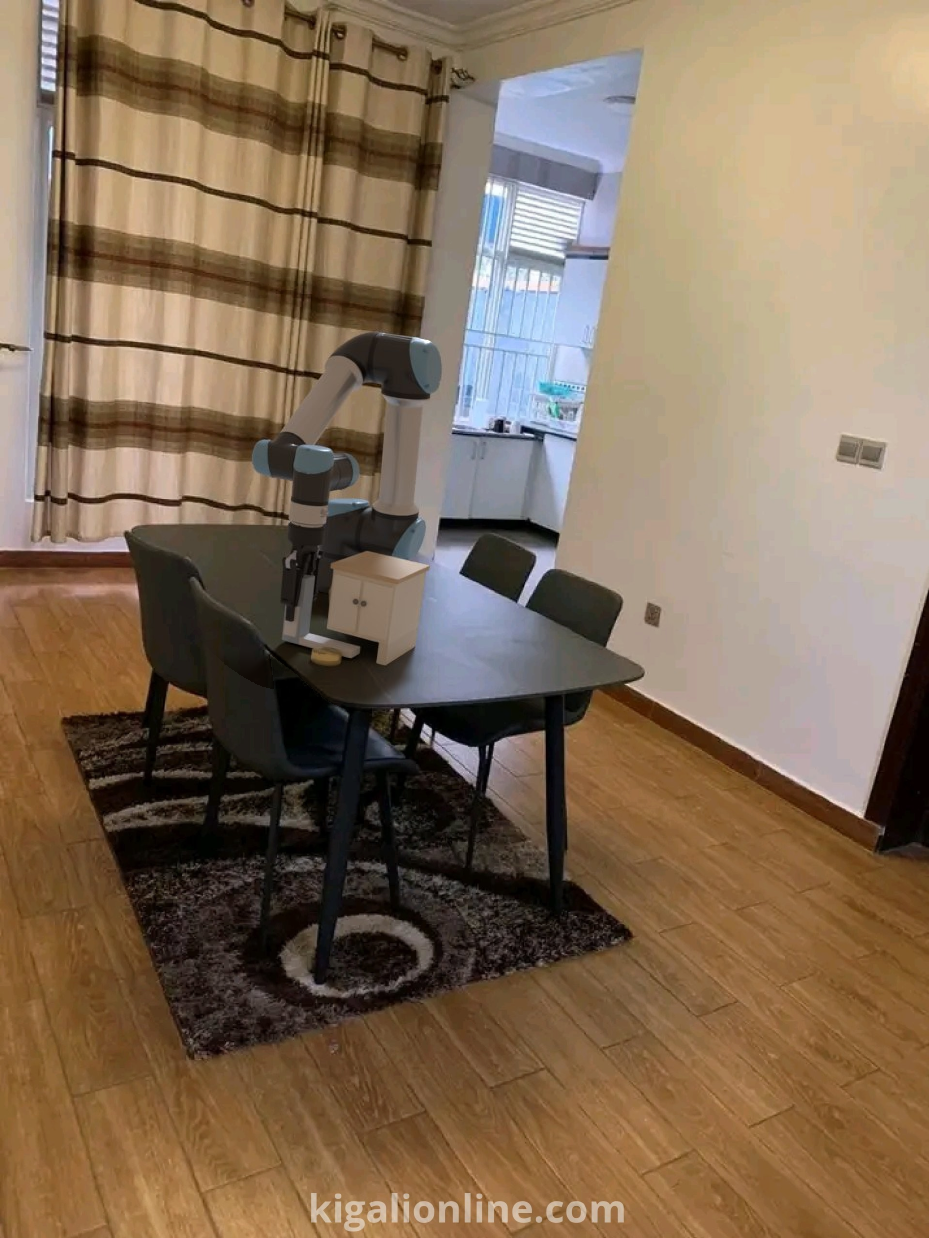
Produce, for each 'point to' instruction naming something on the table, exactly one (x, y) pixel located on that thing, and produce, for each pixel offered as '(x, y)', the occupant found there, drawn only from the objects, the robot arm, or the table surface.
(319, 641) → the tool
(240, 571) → the table surface
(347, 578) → the cabinet
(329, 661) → the token
